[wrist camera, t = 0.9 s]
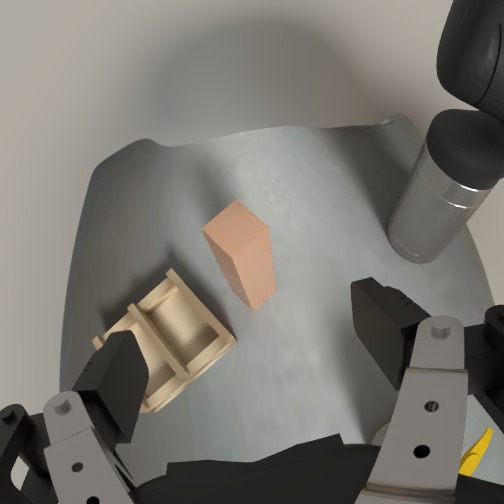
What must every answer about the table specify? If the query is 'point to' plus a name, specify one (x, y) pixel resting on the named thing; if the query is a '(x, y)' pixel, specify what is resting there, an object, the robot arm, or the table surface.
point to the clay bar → (243, 253)
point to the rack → (172, 339)
